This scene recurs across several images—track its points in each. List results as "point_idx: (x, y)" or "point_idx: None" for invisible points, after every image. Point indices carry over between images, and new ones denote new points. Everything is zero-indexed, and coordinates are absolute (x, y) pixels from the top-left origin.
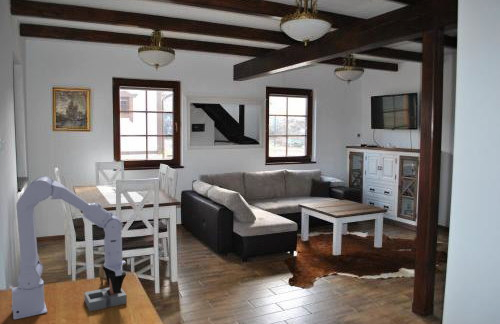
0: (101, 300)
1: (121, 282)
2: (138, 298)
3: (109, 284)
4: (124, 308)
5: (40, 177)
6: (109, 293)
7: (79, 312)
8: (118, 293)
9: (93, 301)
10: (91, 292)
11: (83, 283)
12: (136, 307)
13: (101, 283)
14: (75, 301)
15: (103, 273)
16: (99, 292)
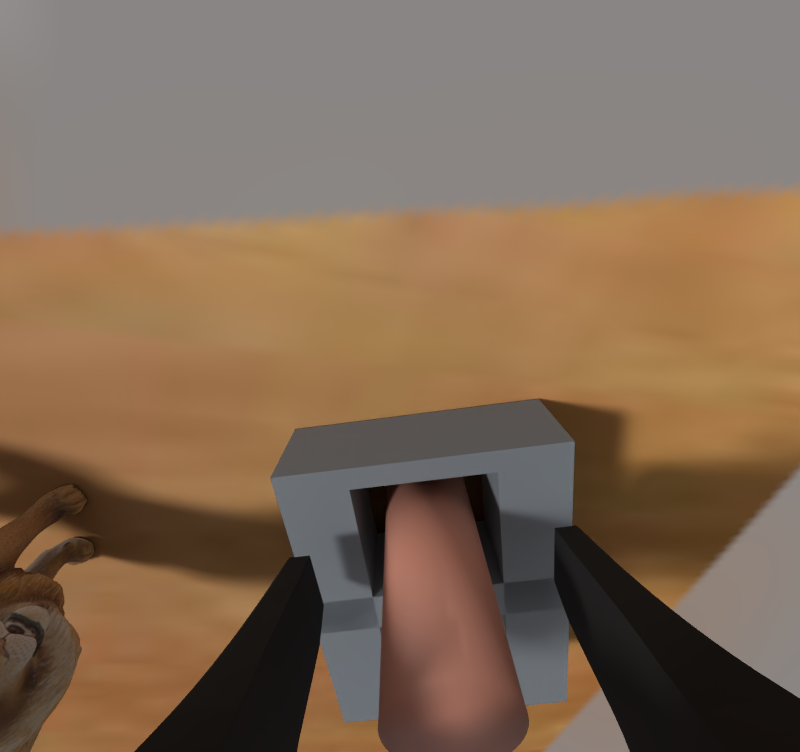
0: (567, 633)
1: (717, 657)
2: (484, 275)
3: (320, 611)
4: (629, 425)
5: None
6: (369, 543)
7: None
8: (454, 495)
9: (558, 680)
10: (366, 686)
11: None
12: (674, 326)
13: (65, 562)
14: None
15: (52, 710)
16: None
